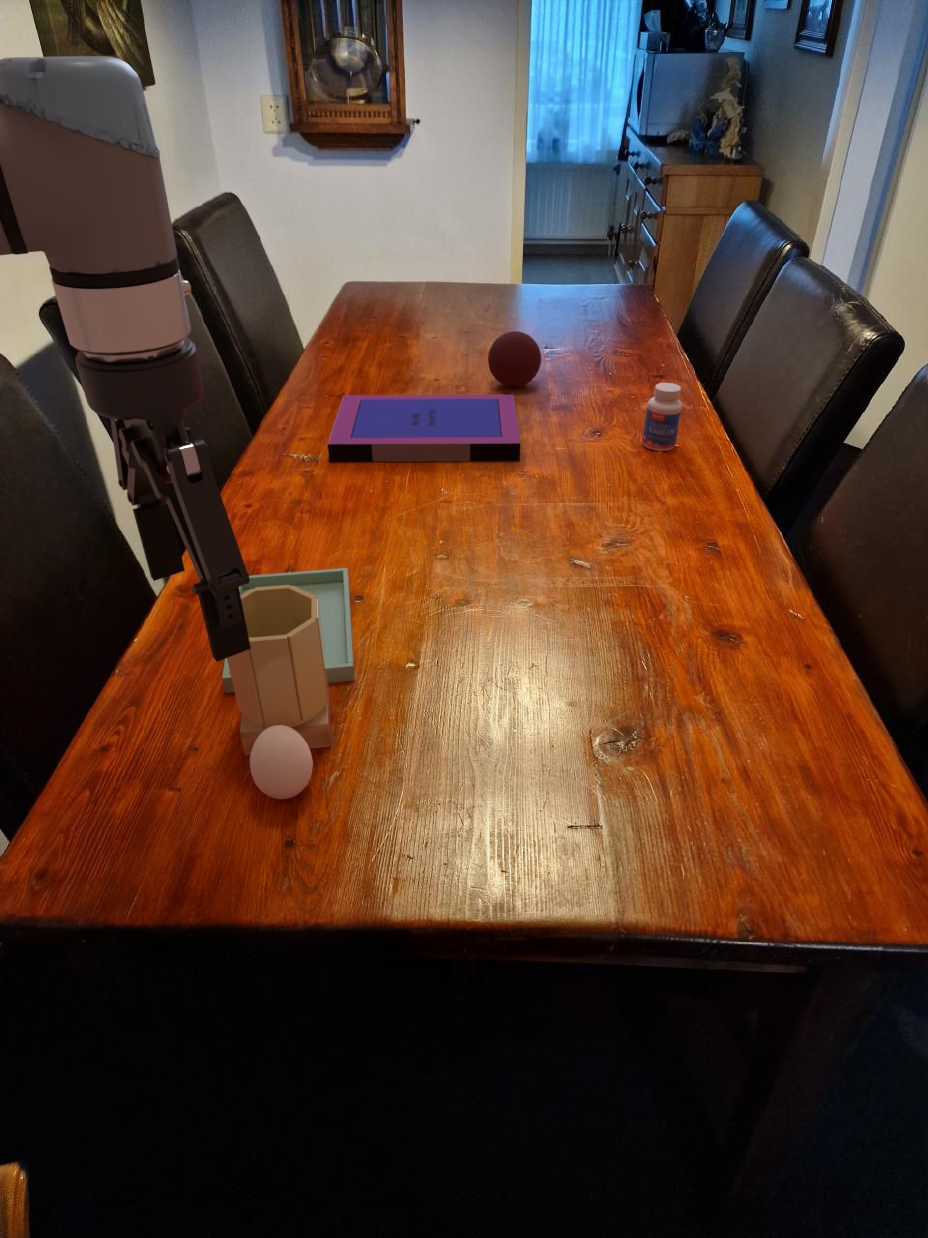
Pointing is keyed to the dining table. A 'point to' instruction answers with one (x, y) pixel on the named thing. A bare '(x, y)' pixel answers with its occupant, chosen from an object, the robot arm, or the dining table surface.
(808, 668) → the dining table surface
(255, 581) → the tray
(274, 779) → the egg
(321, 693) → the cup
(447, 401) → the book
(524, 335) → the decorative ball
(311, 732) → the block
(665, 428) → the pill bottle
